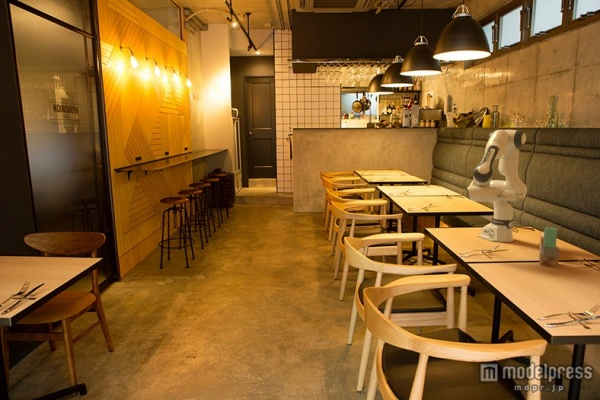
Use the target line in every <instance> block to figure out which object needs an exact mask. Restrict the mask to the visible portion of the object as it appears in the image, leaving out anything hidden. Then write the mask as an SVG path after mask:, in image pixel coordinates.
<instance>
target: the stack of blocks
mask: <svg viewBox="0 0 600 400" xmlns="http://www.w3.org/2000/svg"><path fill="white" fill-rule="evenodd" d="M539 239H540V240H539V251H540V250H541V244H542V245H543V240H544V231H542V232H540V238H539Z"/></svg>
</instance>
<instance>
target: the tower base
mask: <svg viewBox="0 0 600 400" xmlns="http://www.w3.org/2000/svg"><path fill="white" fill-rule="evenodd" d="M538 262H539V266H540V265H541V266H543V267H549V266H550V267H551V268H558V267H559V257H558V258H551V257H543V256H542V255H541V254H540V253H539V256H538ZM541 266H540V267H541Z"/></svg>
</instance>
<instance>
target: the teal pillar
mask: <svg viewBox="0 0 600 400" xmlns="http://www.w3.org/2000/svg"><path fill="white" fill-rule="evenodd" d="M543 229H544V230H543V232H544V240H543V246H544V247H546V248H556V246H557V237H558V236H557V235H558V229H557V227H549V226H544V228H543Z"/></svg>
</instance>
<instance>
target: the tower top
mask: <svg viewBox="0 0 600 400" xmlns="http://www.w3.org/2000/svg"><path fill="white" fill-rule="evenodd" d="M559 253H560V248H559V247H558V246H557V245H556V248H546V247H544V246H543V245H542V244H541V250H540V249H539V254H541V255H542V256H543V257H551V258H558V259H559Z"/></svg>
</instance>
